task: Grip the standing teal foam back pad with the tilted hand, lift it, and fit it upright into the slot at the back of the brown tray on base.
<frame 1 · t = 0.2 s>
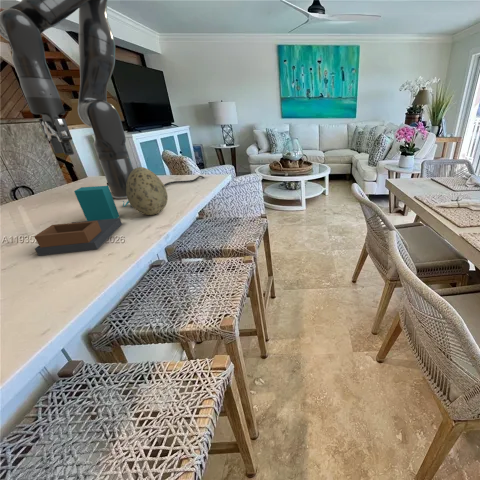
hand: (64, 153, 85), 18 cm above the counter, tool pointing down, fingers open, 8 cm apart
brown tray on base: (85, 238, 70), on the counter
decorative egg: (153, 214, 86), on the counter
dragon figurine: (135, 206, 93), on the counter
back pad: (104, 219, 82), on the counter
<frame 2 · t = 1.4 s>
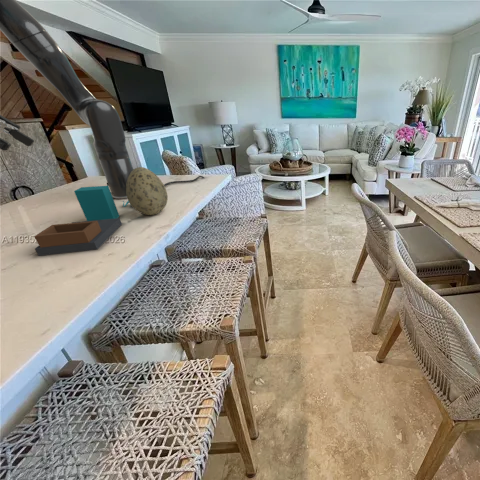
hand: (20, 145, 69), 22 cm above the counter, tool tilted 45°, fingers open, 8 cm apart
nothing on the counter moved.
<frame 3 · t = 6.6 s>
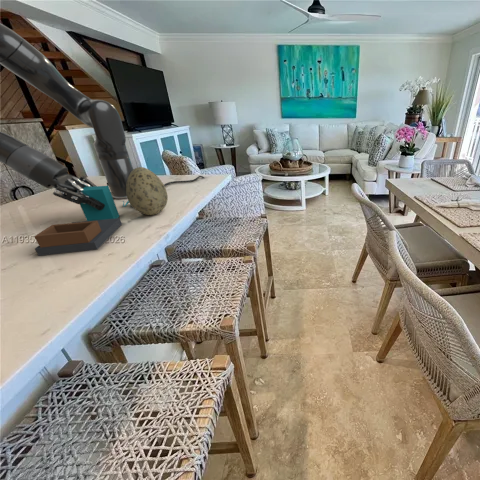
hand: (106, 205, 80), 5 cm above the counter, tool tilted 45°, fingers closed on back pad, 4 cm apart
back pad: (104, 219, 82), on the counter, touching gripper
everything else where it was.
when the fingers open (7 cm above the counter, at t = 14.3 s): back pad stays where it is, resting on brown tray on base.
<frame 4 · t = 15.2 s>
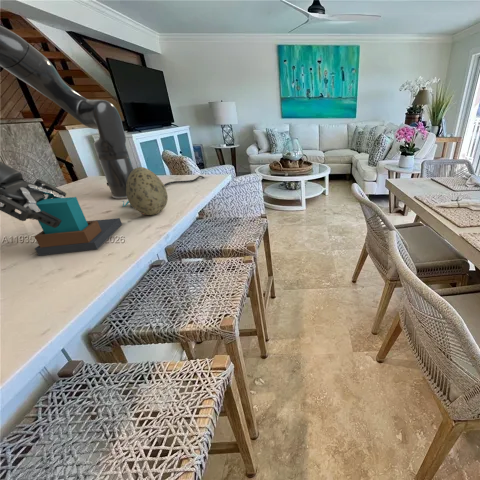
hand: (69, 217, 63), 8 cm above the counter, tool tilted 45°, fingers open, 8 cm apart
back pad: (72, 239, 65), point 2 cm above the counter, touching brown tray on base
everything else where it was.
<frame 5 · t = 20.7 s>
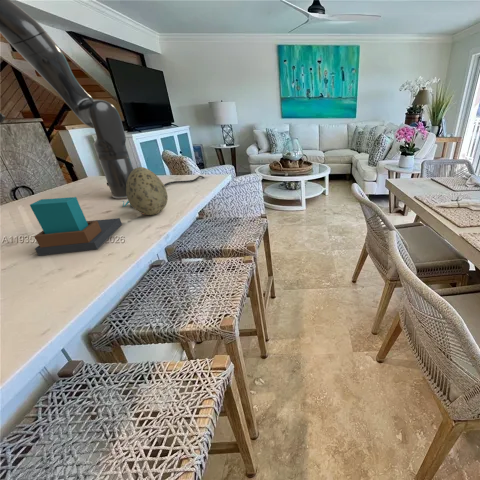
nothing on the counter moved.
at the end: back pad 0.1 cm from the target spot on the brown tray on base, point 2.0 cm above the brown tray on base's base; back pad tilted 0°; the gripper is holding nothing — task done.
